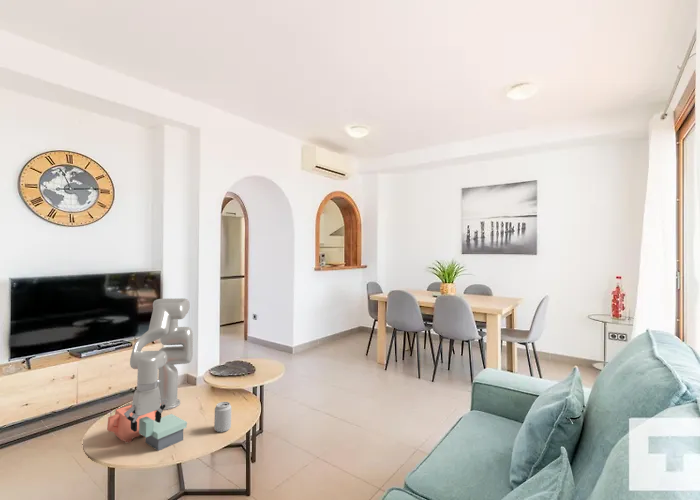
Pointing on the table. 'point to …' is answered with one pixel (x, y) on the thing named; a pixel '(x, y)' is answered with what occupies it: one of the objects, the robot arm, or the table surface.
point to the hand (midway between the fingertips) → (146, 425)
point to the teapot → (125, 424)
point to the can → (222, 417)
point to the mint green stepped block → (161, 426)
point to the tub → (165, 440)
